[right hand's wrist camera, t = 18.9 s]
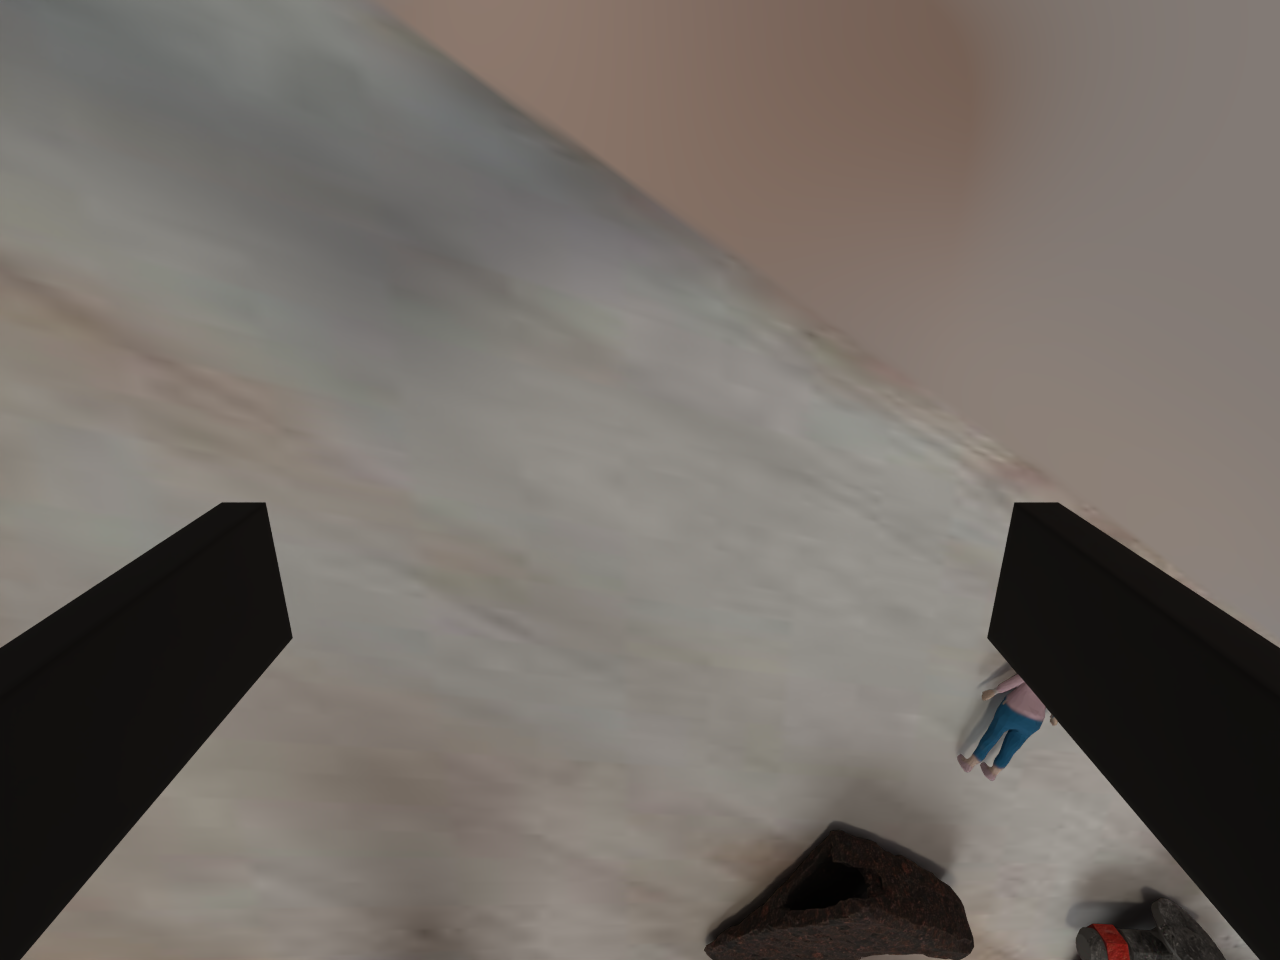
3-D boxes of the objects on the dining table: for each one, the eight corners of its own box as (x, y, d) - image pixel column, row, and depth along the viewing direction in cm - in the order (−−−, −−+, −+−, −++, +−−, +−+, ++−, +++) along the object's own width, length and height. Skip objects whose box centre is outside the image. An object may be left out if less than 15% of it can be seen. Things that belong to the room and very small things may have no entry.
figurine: (998, 764, 53) (1122, 613, 48) (1027, 812, 49) (1165, 654, 44) (931, 740, 53) (1049, 585, 47) (954, 787, 49) (1086, 623, 43)
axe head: (854, 1042, 60) (706, 1041, 55) (822, 940, 66) (687, 931, 61) (999, 944, 51) (839, 932, 46) (945, 837, 58) (800, 816, 52)
